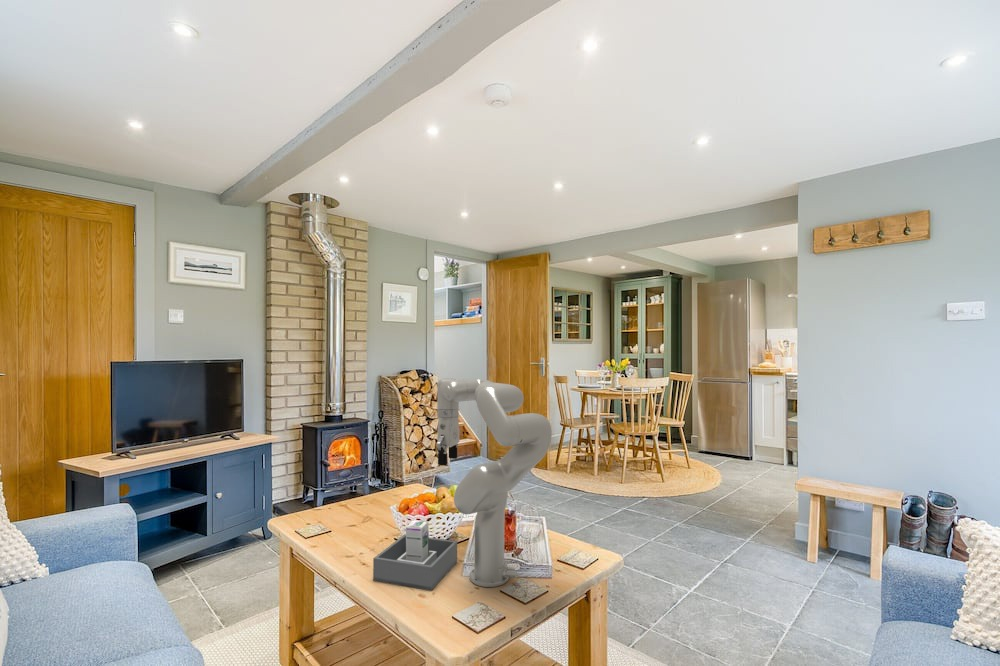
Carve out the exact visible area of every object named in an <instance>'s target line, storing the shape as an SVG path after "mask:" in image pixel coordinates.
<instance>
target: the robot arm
mask: <svg viewBox="0 0 1000 666" xmlns="http://www.w3.org/2000/svg"><path fill="white" fill-rule="evenodd" d="M469 401H475V402H476V405H477V406H476V407H477V409H478V411H479V413H480V415H481V416H482V419H483V421H484V422H485V425H486V426H487V428H488V429H489V432H490V433H491V435H492V436H493V439H494V440H495V441H496V442H497V443H498V444H499V445H500V446H502V447H511V448H510V449H509V450H508V451H507V452H506V453H505V455H504V456H503V457H502V458H500V459H497V460H493V461H489V462H483V463H479V464H477V465H476V466H474V467H472V468H471V469H470V471H468V472H467V474H466V475H465V476H464V477H463V478H462V479H461V481H459V483H458V485H457V486H456V488H455V491H454V495H453V503H454V506H455V509H456V510H457V511H458V512H459V513H461V514H463V515H472V514H476V515H475V519H474V568H473V569H471V570H470V572H469V580H470V581H471V583H473V584H474V585H475V586H479V587H484V588H493V587H494V588H496V587H500V586H502V585H504V584H506V583H507V582H508V581H509V579H510V578H513V579H517V578H518V577H517V576H518V571H517V570H516V568H515V567H510V566H508V561H505V520H506V519H505V518H506V517H505V516H506V515H505V514H506V506H507V501H508V495H509V494H508V493H509V492H510V491H511V490H513V489H514V488H515V487H516V486H517V485H518V484H519V483H520V482H521V481H522V480H523V479H524V478H525V477H527V475H528V473H530V471H532V469H533V468H534V467H535V466H537V465H538V464H539V462H541V460H543V458H544V457H545V456H546V454H547V453H548V451H549V449H550V445H551V443H552V437H553V435H552V433H553V432H552V425H551V423H550V421H549V419H548V418H547V417H546V416H545V415H542V414H540V413H532V412H529V413H520V414H511V415H508V414H509V413H514V412H516V411H518V410H519V409H520V408H521V407H522V405H523V404H524V394H523V392H522V390H521V389H520V388H519V387H518V386H516V385H513V384H509V383H501V382H492V381H491V380H489V379H480V378H466V379H465V378H464V379H456V378H441V379H438V382H437V419H438V425H437V442H436V446H437V448H436V449H437V465H438V466H447V465H448V458H449V459H453V460H454V459H455V460H456V459H458V446H459V445H458V444H459V443H460V440H461V438H460V423H459V421H460V420H459V414H460V412H459V410H460V409H459V407H460V406H459V405H460V404H459V403H461V402H469ZM447 451H448V453H447Z"/></svg>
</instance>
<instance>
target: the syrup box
mask: <svg viewBox="0 0 1000 666" xmlns="http://www.w3.org/2000/svg"><path fill="white" fill-rule="evenodd" d="M429 531H430V529H429V521H428V520H426V521H425V520H412V521H411V522H410V523H408V525H406V526H405V534H406V560H408V561H415V562H421V563H423V562H424V561H425V560H426V559H427V558H428V557H429V538H430V537H429V536H430V535H429Z"/></svg>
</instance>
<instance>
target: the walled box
mask: <svg viewBox="0 0 1000 666" xmlns="http://www.w3.org/2000/svg"><path fill="white" fill-rule="evenodd" d="M372 561H373V562H372V563H373V564H372V565H373V566H372V567H373V568H372V571H373V572H372V578H373V579H372V581H373V582H379V583H385V584H389V585H390V584H391V585H396V586H400V587H401V586H402V587H407V588H412V589H419V590H423V591H429V592H431V591H432V590H434V589H435V587H437V585H438V584H439V583H440V582H441V581H442V580H443V578H445V576H446V575H447V574H448V573H449V572H450V571H451V570H452V568H453V567H455V566H456V564H457V563H458V541H457V540H450V539H442V538H437V537H436V538H435V537H429V557H428V558H427V559H426V560H425V561H424V562H423V563H421V562H415V561H408V560H406V533H404V534H403V535H401V537H399V538H398V539H397V540H395V541H394V542H393V543H391V544H390V545H388V546H387V547H386V548H385V549H384V550H382V551H380V553H378V554H377V555H376V556H375V557H373V560H372Z"/></svg>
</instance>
